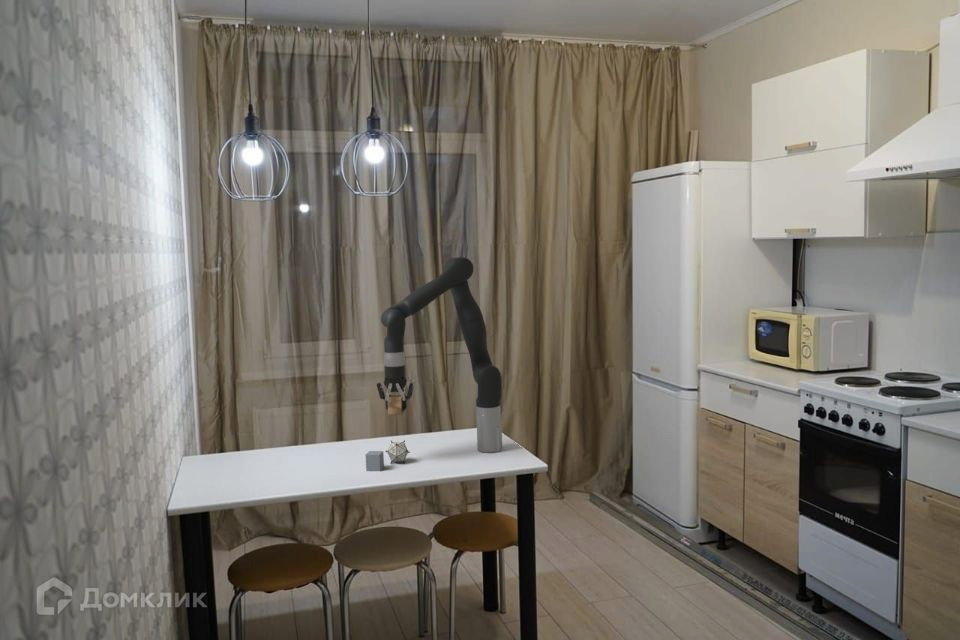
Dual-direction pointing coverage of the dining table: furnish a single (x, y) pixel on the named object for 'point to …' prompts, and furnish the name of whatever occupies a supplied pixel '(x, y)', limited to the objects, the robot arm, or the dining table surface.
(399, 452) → the game die
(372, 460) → the slate block
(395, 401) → the walnut block
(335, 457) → the dining table surface
